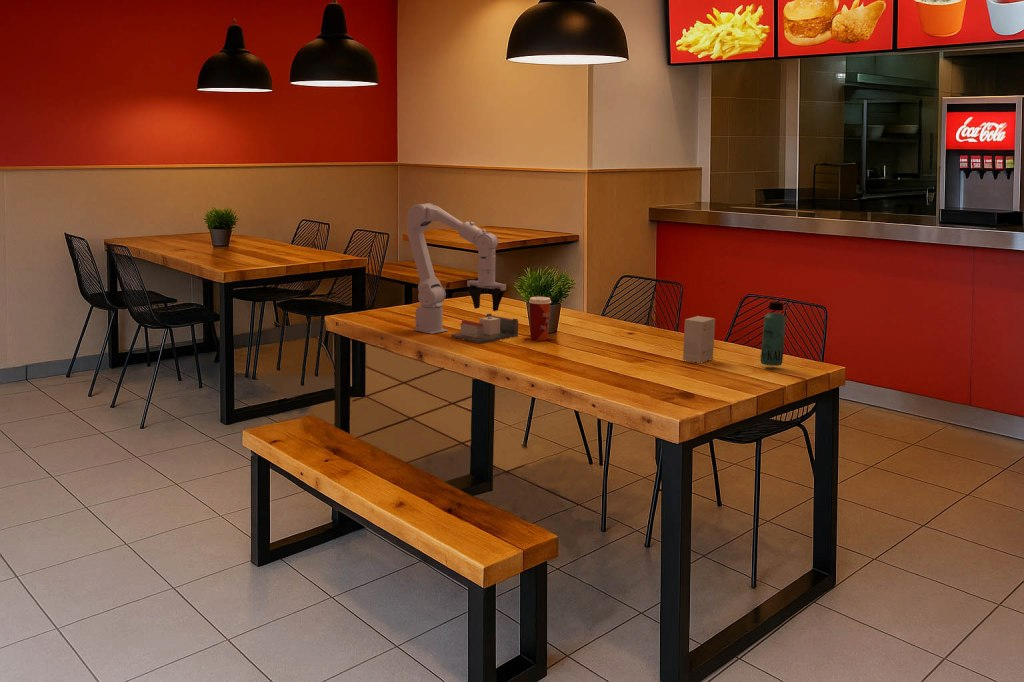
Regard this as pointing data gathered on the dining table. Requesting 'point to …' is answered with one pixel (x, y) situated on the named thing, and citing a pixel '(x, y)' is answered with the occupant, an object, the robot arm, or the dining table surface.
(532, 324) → the paper cup
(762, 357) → the beverage bottle
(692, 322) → the small box
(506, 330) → the press
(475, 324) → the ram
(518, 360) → the dining table surface
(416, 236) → the robot arm
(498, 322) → the block
